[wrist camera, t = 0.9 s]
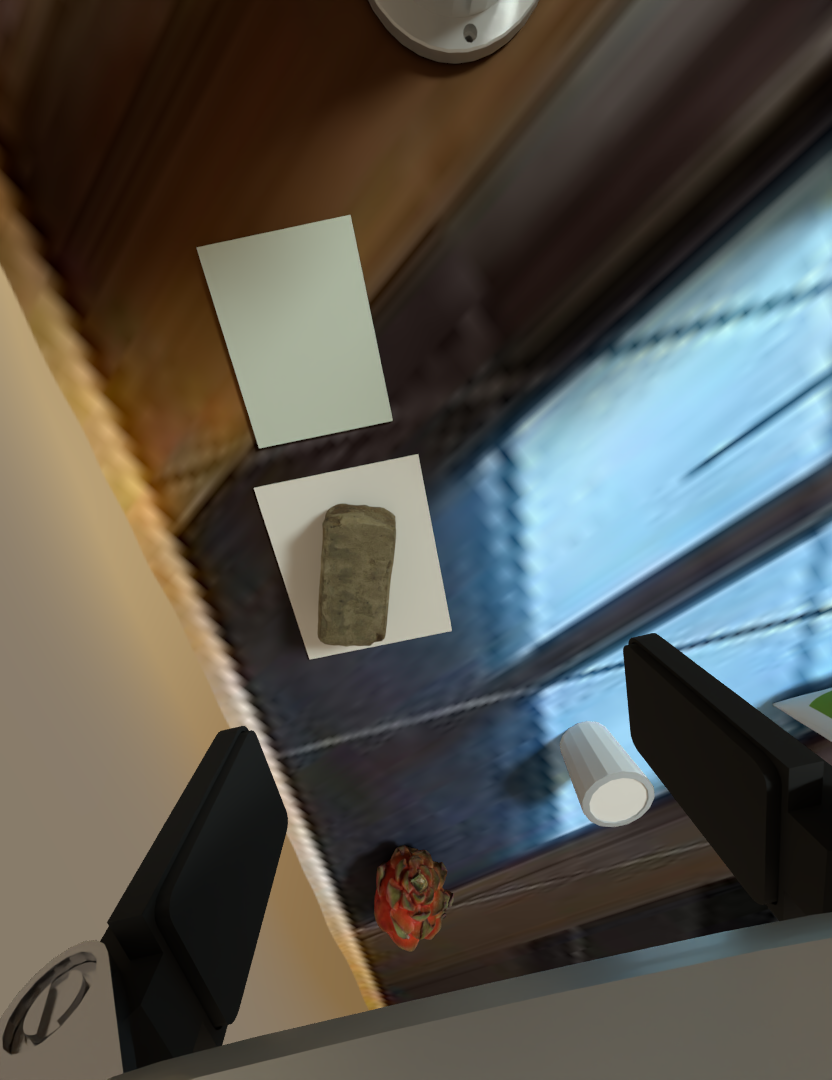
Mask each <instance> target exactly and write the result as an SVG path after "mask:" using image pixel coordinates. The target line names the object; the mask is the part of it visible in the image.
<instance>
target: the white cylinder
mask: <svg viewBox="0 0 832 1080" xmlns="http://www.w3.org/2000/svg"><path fill="white" fill-rule="evenodd" d="M560 750H561V753H562V756H563V759H564V762H565V764H566V767H567V770H568V772H569V775H570V778H571V780H572V783H573V786H574V789H575V791H576V794H577V797H578V799H579V802H580V805H581V807H582V810H583V813H584V814H585V815H586V817H587V818H588V819H589V820H590V821H591V822H593V823H595V824H597V825H600V826H606V827H617V826H621V825H626V824H629V823H631V822H633V821H634V820H636V819H638V818H640V817H641V816H642V815H643V814H644V813H645V812H646V811H647V810H648V809H649V808H650V806H651V804H652V802H653V799H654V786H653V785H652V784H651V782H650V781H649V779H648V778H647V777H646V776H645V774H644V773H643V772H642V771H641V769H640V768H639V767H638V766H637V765H636V763H635V762H634V761H633V760H632V759H631V757H630V756H629V755H628V754H627V753H626V751H625V750H624V749H623V748H622V746H621V745H620V744H619V743H618V742H617V740H616V739H615V738H614V737H613V736H612V734H611V733H610V732H609V731H608V730H607V728H606V727H605V726H604V725H602V724H600V723H598V722H591V721H586V722H582V723H577V724H576V725H574V726H572V727H570V728H569V729H568V730H567V731H566V732H565V733H564V734H563V736H562V738H561V741H560Z"/></svg>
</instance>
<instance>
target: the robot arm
mask: <svg viewBox="0 0 832 1080" xmlns="http://www.w3.org/2000/svg"><path fill="white" fill-rule="evenodd" d="M368 1H369V3H370V5H371V7H372V10H373V11H374V12H375V14H376V15H377V17H378V18H379V19H380V21H381V22H382V24H383V25H384V26H385V28H386V29H387V30H388V31H389V32H390V33H391V34H392V35H393V36H394V37H395V38H396V39H397V40H398V41H399V42H400V43H401V44H402V45H404V46H405V47H407V48H409V49H410V50H412V51H413V52H415V53H416V54H418V55H420V56H422V57H425V58H428V59H431V60H434V61H436V62H444V63H453V64H458V63H464V62H471V61H475V60H478V59H480V58H483V57H485V56H487V55H490V54H492V53H494V52H495V51H496V50H498V49H499V48H501V47H502V46H503V45H505V44H506V43H508V42H509V41H510V40H511V39H512V38H513V37H514V35H515V34H516V33H517V32H518V31H519V30H520V29H521V28H522V27H523V26H524V24H525V23H526V21H527V20H528V18H529V17H530V15H531V14H532V12H533V10H534V9H535V7H536V6H537V3H538V1H539V0H368ZM623 654H624V665H625V676H626V687H627V698H628V710H629V721H630V732H631V737H632V740H633V743H634V745H635V747H636V749H637V750H638V752H639V753H640V754H641V756H642V757H643V758H644V759H645V761H646V762H647V763H648V765H649V766H650V767H651V768H652V770H653V771H654V772H655V774H656V775H657V776H658V778H659V779H660V780H661V781H662V783H663V784H664V785H665V787H666V788H667V789H668V790H669V792H670V793H671V794H672V796H673V797H674V798H675V800H676V801H677V802H678V803H679V805H680V806H681V807H682V809H683V810H684V811H685V812H686V814H687V815H688V816H689V818H690V819H691V820H692V822H693V823H694V824H695V825H696V827H697V828H698V829H699V831H700V832H701V833H702V834H703V836H704V837H705V838H706V840H707V841H708V842H709V844H710V845H711V846H712V847H713V849H714V850H715V851H716V853H717V854H718V855H719V856H720V858H721V859H722V860H723V862H724V863H725V864H726V866H727V867H728V868H729V869H730V871H731V872H732V873H733V875H734V876H735V877H736V878H737V880H738V881H739V882H740V884H741V885H742V886H743V888H744V889H745V890H746V891H747V893H748V894H749V895H750V896H751V897H752V899H753V900H754V901H756V902H757V903H758V904H760V905H763V904H766V905H767V906H768V907H769V909H770V910H771V911H772V912H773V914H774V915H775V916H776V918H777V919H778V920H779V921H778V922H773V923H768V924H763V925H758V926H753V927H747V928H742V929H737V930H732V931H727V932H722V933H717V934H712V935H707V936H703V937H698V938H694V939H689V940H684V941H680V942H675V943H671V944H666V945H661V946H657V947H652V948H648V949H643V950H638V951H634V952H629V953H625V954H620V955H615V956H611V957H606V958H602V959H597V960H593V961H588V962H583V963H579V964H574V965H570V966H565V967H561V968H556V969H552V970H547V971H543V972H538V973H534V974H529V975H525V976H520V977H516V978H511V979H507V980H503V981H498V982H494V983H489V984H485V985H480V986H476V987H471V988H467V989H463V990H458V991H454V992H449V993H445V994H440V995H436V996H432V997H427V998H423V999H418V1000H414V1001H409V1002H405V1003H401V1004H396V1005H392V1006H388V1007H383V1008H379V1009H375V1010H370V1011H366V1012H362V1013H358V1014H354V1015H349V1016H344V1017H340V1018H336V1019H331V1020H327V1021H323V1022H319V1023H314V1024H310V1025H306V1026H302V1027H297V1028H293V1029H288V1030H284V1031H280V1032H275V1033H271V1034H267V1035H262V1036H258V1037H255V1038H250V1039H246V1040H242V1041H238V1042H235V1043H231V1044H227V1045H223V1046H222V1044H223V1040H224V1037H225V1033H226V1029H227V1026H228V1025H229V1024H232V1023H233V1022H234V1020H235V1018H236V1016H237V1014H238V1011H239V1007H240V1004H241V1000H242V997H243V993H244V989H245V985H246V981H247V978H248V974H249V970H250V966H251V963H252V959H253V955H254V951H255V948H256V944H257V940H258V937H259V933H260V929H261V925H262V921H263V918H264V914H265V910H266V906H267V903H268V899H269V895H270V892H271V888H272V884H273V880H274V876H275V873H276V868H277V865H278V862H279V858H280V854H281V850H282V847H283V843H284V839H285V835H286V832H287V826H288V817H287V812H286V809H285V807H284V804H283V802H282V799H281V796H280V794H279V791H278V789H277V786H276V784H275V781H274V779H273V776H272V774H271V771H270V768H269V766H268V763H267V761H266V758H265V756H264V753H263V751H262V748H261V746H260V743H259V740H258V738H257V735H256V733H255V732H254V731H252V730H251V731H249V730H248V728H246V727H245V726H240V727H236V728H232V729H227V730H223V731H220V732H219V733H218V734H217V735H216V737H215V739H214V740H213V742H212V744H211V746H210V747H209V749H208V751H207V752H206V754H205V756H204V758H203V759H202V761H201V763H200V764H199V766H198V768H197V769H196V771H195V773H194V775H193V776H192V778H191V780H190V782H189V783H188V785H187V787H186V788H185V790H184V792H183V793H182V795H181V797H180V799H179V800H178V802H177V804H176V805H175V807H174V809H173V810H172V812H171V814H170V816H169V818H168V819H167V821H166V822H165V824H164V826H163V828H162V829H161V831H160V833H159V834H158V836H157V838H156V840H155V841H154V843H153V845H152V846H151V848H150V850H149V852H148V853H147V855H146V857H145V858H144V860H143V862H142V864H141V865H140V867H139V869H138V871H137V872H136V874H135V875H134V877H133V879H132V881H131V883H130V884H129V886H128V887H127V889H126V891H125V893H124V894H123V896H122V898H121V899H120V901H119V903H118V905H117V906H116V908H115V910H114V912H113V913H112V915H111V917H110V919H109V920H108V922H107V923H108V925H109V927H108V929H107V930H106V932H105V934H104V936H103V937H102V939H101V941H100V942H99V941H97V940H93V941H85V942H82V943H80V944H77V945H75V946H73V947H70V948H68V949H67V950H66V951H64V952H63V953H61V954H60V955H58V956H57V957H55V958H54V959H52V960H51V961H50V962H49V963H48V964H46V965H45V966H44V967H43V968H42V969H41V970H40V971H39V972H38V973H36V974H35V975H34V976H33V977H32V978H31V979H30V981H29V982H28V983H27V984H26V985H25V986H24V987H23V988H22V989H21V991H19V993H18V994H17V995H16V997H15V998H14V999H13V1001H12V1002H11V1004H10V1005H9V1006H8V1008H7V1009H6V1010H5V1012H4V1013H3V1015H2V1017H1V1019H0V1080H832V766H831V765H830V764H828V763H827V762H826V761H824V760H823V759H822V758H820V757H819V756H818V755H816V754H815V753H814V752H812V751H811V750H810V749H809V748H807V747H806V746H805V745H803V744H802V743H801V742H799V741H798V740H797V739H795V738H794V737H793V736H791V735H790V734H789V733H787V732H786V731H785V730H783V729H782V728H781V727H779V726H778V725H777V724H776V723H774V722H773V721H772V720H770V719H769V718H768V717H766V716H765V715H764V714H762V713H761V712H760V711H758V710H757V709H756V708H754V707H753V706H752V705H750V704H749V703H748V702H746V701H745V700H744V699H742V698H741V697H740V696H739V695H737V694H736V693H735V692H733V691H732V690H731V689H729V688H728V687H727V686H725V685H724V684H722V683H721V682H720V681H719V680H717V679H716V678H715V677H713V676H712V675H711V674H709V673H708V672H707V671H705V670H704V669H703V668H701V667H700V666H699V665H697V664H696V663H695V662H693V661H692V660H691V659H689V658H688V657H687V656H686V655H684V654H683V653H682V652H680V651H679V650H678V649H676V648H675V647H674V646H672V645H671V644H670V643H668V642H667V641H666V640H664V639H663V638H662V637H660V636H659V635H657V634H656V633H651V634H647V635H642V636H638V637H633V638H631V639H630V640H629V645H626V646H624V648H623Z"/></svg>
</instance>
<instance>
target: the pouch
mask: <svg viewBox="0 0 832 1080" xmlns="http://www.w3.org/2000/svg"><path fill="white" fill-rule="evenodd" d="M773 705H774V706H775V707H777V708H779V709H780V710H782V711H783V712H785V713H786V714H788V715H789V716H791V717H793V718H794V719H796V720H797V721H799V722H801V723H802V724H804V725H805V726H807V727H809V728H810V729H812V730H814V731H815V732H817V733H818V734H820V735H822V736H823V737H825V738H826V739H828V740H830V741H831V742H832V688H829V689H825V690H821V691H817V692H813V693H809V694H805V695H801V696H797V697H794V698H790V699H786V700H783V701H780V702H776V703H773Z"/></svg>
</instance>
